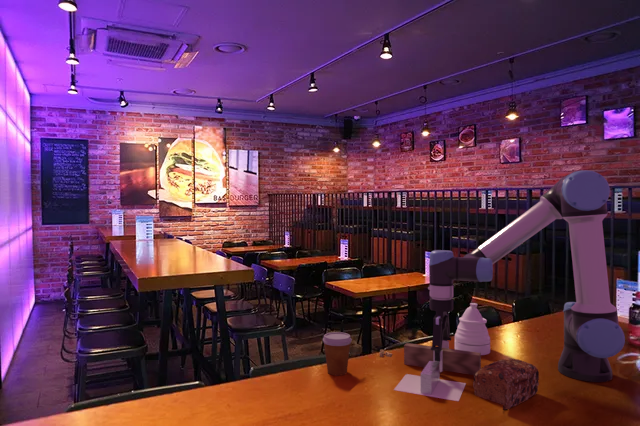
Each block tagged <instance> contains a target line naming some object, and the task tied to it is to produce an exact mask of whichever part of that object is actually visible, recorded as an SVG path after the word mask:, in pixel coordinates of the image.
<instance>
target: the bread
mask: <svg viewBox="0 0 640 426" xmlns="http://www.w3.org/2000/svg"><path fill="white" fill-rule="evenodd" d="M539 373H540V372H539V369H538V368H537V366H536V365H533V364H531V363H529V362H527V361H525V360H521V359H516V358H508V359H499V360H497V361H493V362H491V363H489V364H486V365H483V367H481V369H480V370H479V371H478V372H477V373H476V374H475V375H473V383H472V385H473V390H474V391H473V392H474V395H475V396H476V397H479V398H483V399H484V400H489V401H491V402H492V403H496V404H500V405H502V410H503V411H504V410H505V411H506V410H510V409H511V408H512V407H516V406H518V405H520V404H522V403H524V402H527V401H528V400H529V399H530V398H531V397H533V396H535V395H536V394H537V393H538V391H539V389H538V388H539V385H540V384H539V383H540V382H539V380H540V377H539V376H540V375H539Z"/></svg>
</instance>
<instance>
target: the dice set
mask: <svg viewBox="0 0 640 426" xmlns="http://www.w3.org/2000/svg"><path fill="white" fill-rule="evenodd" d="M384 356H386V357H388V358H393V357H392V356H393V353H391V352H388V351H387V352H385V349H380V350H379V357H381V358H383V357H384Z"/></svg>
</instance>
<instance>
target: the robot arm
mask: <svg viewBox="0 0 640 426" xmlns="http://www.w3.org/2000/svg"><path fill="white" fill-rule="evenodd" d="M610 194H611V189H610V184H609V182H608V180H607V179H606V178H605V177H604V176H603V175H602V174H601V173H599V172H597V171H593V170H589V169H587V170H585V169H584V170H577V171H576V170H574V171H573V172H571V173H569V174H567V175H565V176H563V177H561V178H560V179H559V180H558V181H557V182H556V183H555V184H554V185H553V186H552V187H551V188H550V189H548V191H546V193H544V194H542V195H541V196H540V197H539V201H538V202H537V203H535V204H534V205H533V206H532V207H530V208H529V209H528V210H526V211H524V213H522V214H521V215H520V216H518V217H517V218H515V219H514V220H512V221H511V222H510V223H509V224H507V225H506V226H504V227H503V228H502V229H501V230H499V231H498V232H496V233H495V234H494V235H492V236H491V237H489V238H488V239H487V240H486V241H484V242H483V243H482V244H480V245H478V247H477V248H475V249H473V250H472V251H471V252H469V253H467V254H465V255H464V256H463V257H459V256H455V255H454V252H453V251H452V250H445V249H444V250H443V249H442V250H441V249H435V250H432V251H431V252H430V253H429V262H428V263H429V264H428V266H429V267H428V273H429V275H428V276H429V286H428V287H427V289H428V290H429V309H430V310H431V311H434V312H435V315H434V317H433V318H432V320H433V321H432V322H433V324H432V325H433V326H432V327H433V328H432V343H431V346H432V348H431V350H433V361H434V362H440V373H442V372H444V370H443V350H442V348H448V349H450V341H452V337H451V333H450V331H451V330H450V319H449V318H450V317H449V316H450V315H449V314H450V312H452V311H453V310H454V299H453V298H454V281H463V282H465V281H466V282H467V281H468V282H479V283H482V282H483V283H484V282H491V281H492V280H493V277H494V276H493V275H494V273H493V270H494V266H493V265H494V264H495V263H497V262H498V261H500V260H501V259H502V258H504V257H505V256H506V255H508V254H510V253H511V252H512V251H514V250H515V249H517V248H518V247H519V246H521V245H522V244H523V243H525V242H526V241H527V240H529V239H530V238H532V237H533V236H535V235H536V234H537V233H539V232H540V231H542V229H544V228H546V227H548V226H549V225H550V224H551V223H553V222H554V221H556V220H565V222H567V224H568V231H569V241H570V251H571V260H572V271H573V272H572V273H573V280H574V281H573V282H574V290H575V291H574V293H575V301H568V302H565V303H564V305H563V310H562V312H563V350H562V351H561V353H560V354H561V355H560V358H559V360H558V363H557V370H558V372H559V373H560V374H562V375H564V376H565V377H569V378H571V379H574V380H577V381H578V380H579V381H583V382H590V383H591V382H592V383H604V382H609V381H612V379H613V370H612V367H611V364H610V361H609V358H610V357H615V356H616V355H617V354H618V353H619V354H620V352H621V351H622V350H623V348H624V346H625V343H626V341H625V340H626V337H625V332H624V330H623V329H622V327H621V326H620V324H619V323H620V322H619V314H618V309H617V307H616V306H615V305H613V304H612V303H611V298H610V297H611V296H610V288H609V278H608V277H609V276H608V267H607V257H606V247H605V238H604V228H603V227H604V226H603V221H604V219H605V218H606V217H607V216H608V204H607V201H608V200H609V197H610Z"/></svg>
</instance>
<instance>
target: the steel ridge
mask: <svg viewBox="0 0 640 426" xmlns="http://www.w3.org/2000/svg"><path fill="white" fill-rule="evenodd" d="M440 375H441V372H440V362H434V361H429V362H428V364H427V365H426V367H423V369H422V371H421V372H420V376H421V393H423V394H429V395H432V393H433V391H434V389H435V388H436V386H437V384H438V382H439V381H440V379H441V378H440Z"/></svg>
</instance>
